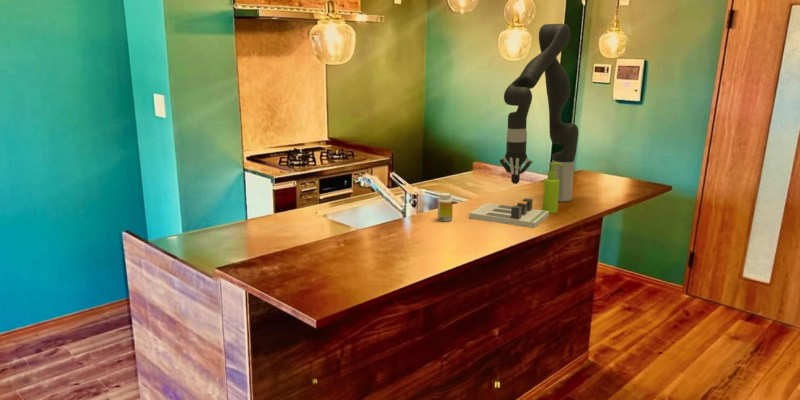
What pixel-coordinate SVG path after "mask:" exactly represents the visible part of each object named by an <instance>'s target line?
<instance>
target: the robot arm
mask: <svg viewBox="0 0 800 400" xmlns="http://www.w3.org/2000/svg"><path fill="white" fill-rule="evenodd" d="M571 33H572V32H571V28H570V26H568V24H566V23H545V24H542V26H541V27H540V28H539V31H538V44H539V49H540V53H539V54H537V55H536V56H535V57H534V58H532V59H531V60H530V61H529V62H528V63H527V64H526V65H525V66H524V69H523V70H522V72H521V73H520V75H519V76H518V77H517V78H516V79H515V80H513V82H512V83H510V84H509V85H508V86H507V87H506V89H505V91H504V93H503V100H504V103H505V104H506V105H509V106H514V107H517V108H516V111H513V112H509V113H508V115H507V131H506V138H505V139H506V148H505V149H506V153H505V155H504V157H503V158H500V159H499V162H500V164H501V166H502V167H503V168H504V170H505V171H506V173H507V174H508V173H509V174H510V175H511V176H510V177H511V180H510V181H511V183H512V184H514V185H517V184H518V183H520V179H521V178H520V176H521V174H524V173H525V172H526V171H527V170H528V168H529V167H530V166H531V165H532V164H533V160H530V159H529V158H528V155H527V139H528V138H527V135H528V133H527V121H528V120H527V118H528V114H529V111H530V108H531V104H532V101H533V94H532V90H531V89H533V88H535V87H536V86H537V84H538V82H539V81H540V79H541V77H542V75H543V74H544V77H545V78H544V79H545V87H546V88H545V90H546V96H547V105H548V113H549V114H548V115H549V116H548V117H549V121H548V123H549V124H548V125H549V139H550V141H551V143H552V144H555V145H562V146H564V148H563V149H562V150H561V151H558V152H557V151H556V152H554V153H553V154H552V157H551V159H552V160H551V161H552V162H551V163H561V164H563V166H561V165H555V171H557V176H556V179H558V180H559V194H558V202H570V201H572V196H573V184H574V172H575V158H576V154H577V148H578V147H577V146H578V141H579V127H578V125H577V124H575V123H568V122H567V123H566V122H562V112H563V111H562V110H563V109H564V107H565V105H566V103H567V101H568V99H569V97H570V95H571V86H570V78H569V76H568V73H567V71H566V70H565V68H564V67H563V66H562V64H561V63H560V61H559V60H558V58H557V57H558V56H559V55H560V54H561V53H562V51H564V49H565V48H566V47H567V45H568V44H569V42H570V40H571V37H572V36H571V35H572V34H571ZM523 164H524V166H523V167H522V165H523Z"/></svg>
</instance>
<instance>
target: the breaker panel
mask: <svg viewBox="0 0 800 400" xmlns="http://www.w3.org/2000/svg"><path fill="white" fill-rule="evenodd" d="M513 206H514V205H513ZM513 206H512V205H505V204H497V203H493V202H492V203H490V202H486V203H484V204H482V205H481V206H479V207H476V209H474V210H472V211H470V212H469V213H468V215H469V217H468V218H469V219H472V220H473V219H474V220H481V221H486V222H492V223H500V224H506V225H514V226H520V227H527V228H533V229H536V227H537V226H539V225H540V224H541V223H542V222H544V221H545V220H546V219H547V218H548V217H549V214H550V213H549V211H544V210H542V209H536V208H532V209H531V210H530V211H529V210H527V213H526V214H525V215H524V214H521V217H520V218H519V219H517V218H511V207H513Z"/></svg>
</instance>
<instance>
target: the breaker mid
mask: <svg viewBox="0 0 800 400" xmlns="http://www.w3.org/2000/svg"><path fill="white" fill-rule="evenodd" d="M516 204H517V205H516V206H522V214H524V215H525V214H526V213H527V202H526V201H523V200H519V201H517V203H516Z"/></svg>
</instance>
